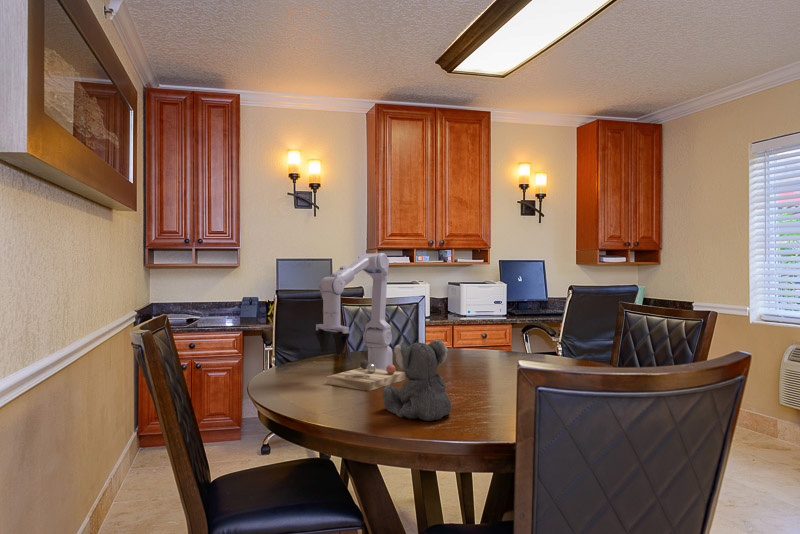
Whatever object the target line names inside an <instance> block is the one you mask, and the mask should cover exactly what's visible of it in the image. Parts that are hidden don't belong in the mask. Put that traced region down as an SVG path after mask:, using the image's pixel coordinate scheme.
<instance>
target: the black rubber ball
mask: <svg viewBox="0 0 800 534" xmlns="http://www.w3.org/2000/svg"><path fill="white" fill-rule="evenodd" d="M359 365H360V368H363V369H366V368H367V366H368V365H369V362H368V359H363V360H361V361H360V362H359Z"/></svg>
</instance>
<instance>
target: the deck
mask: <svg viewBox="0 0 800 534" xmlns="http://www.w3.org/2000/svg"><path fill="white" fill-rule="evenodd" d="M405 380H406V375H405V372H404V371H399V370H398V371H397V370H395V372H394V373H393V374H389V373H387V371H386V370H385V369H377V368H376V370H375V372H374V373H369V372H368V371H367V368H366V369H363V368H361V367H358V368H354V369H350V370H345V371H343V372H339V373H335V374H331V375H328V376H326V385H332V386H338V387H343V388H349V389H356V390H363V391H366V390H367V392H370V391H373V390H376V389H377V390H378V389H380V388H383V387H384V388H385V386H388V385H389V386H391V385H393V384H396V383H399V382H402V381H405Z"/></svg>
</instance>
